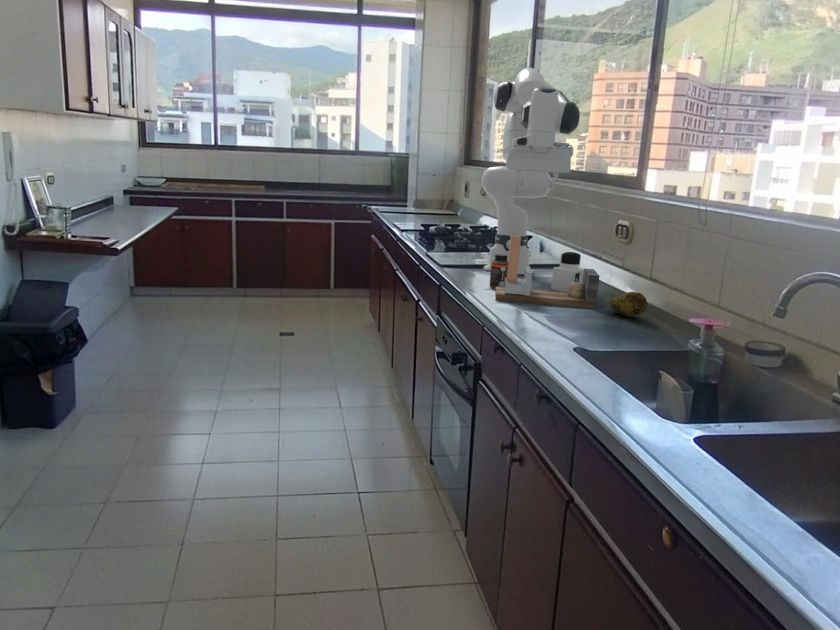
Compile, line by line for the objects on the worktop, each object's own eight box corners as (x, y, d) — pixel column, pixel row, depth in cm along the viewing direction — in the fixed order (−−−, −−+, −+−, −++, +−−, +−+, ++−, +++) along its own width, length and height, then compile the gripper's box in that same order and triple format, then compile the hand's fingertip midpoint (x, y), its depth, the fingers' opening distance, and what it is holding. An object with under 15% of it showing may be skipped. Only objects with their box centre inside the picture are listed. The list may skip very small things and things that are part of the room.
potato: (634, 312, 200) (638, 286, 199) (648, 323, 188) (652, 295, 186) (606, 311, 201) (610, 284, 199) (618, 321, 188) (622, 293, 186)
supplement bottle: (506, 290, 221) (509, 256, 218) (488, 288, 222) (491, 254, 219) (507, 287, 227) (511, 254, 224) (490, 285, 228) (493, 252, 225)
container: (582, 291, 228) (587, 253, 224) (570, 294, 222) (575, 255, 219) (562, 287, 233) (566, 250, 229) (550, 289, 227) (554, 251, 224)
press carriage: (503, 286, 216) (508, 233, 212) (527, 288, 215) (533, 235, 211) (504, 293, 204) (509, 238, 200) (529, 295, 204) (535, 239, 200)
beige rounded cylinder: (567, 294, 211) (568, 282, 210) (581, 295, 210) (583, 283, 209) (568, 297, 206) (570, 284, 205) (583, 298, 206) (585, 285, 205)
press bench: (495, 292, 217) (498, 261, 214) (589, 300, 214) (593, 269, 212) (495, 300, 205) (498, 268, 203) (595, 308, 203) (599, 275, 200)
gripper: (572, 143, 213) (567, 187, 217) (508, 139, 215) (504, 183, 218) (575, 143, 207) (570, 188, 211) (508, 139, 209) (504, 184, 212)
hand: (536, 186), depth 214 cm, fingers open, 8 cm apart
